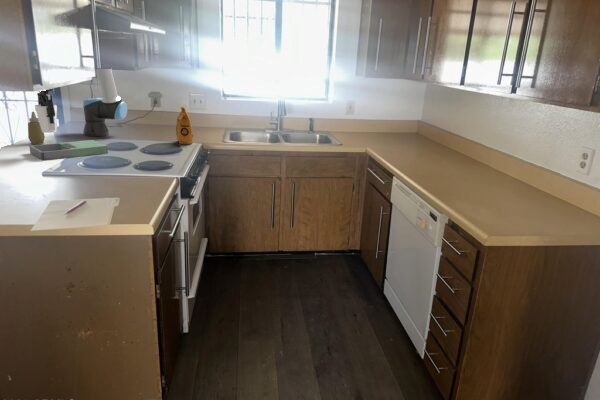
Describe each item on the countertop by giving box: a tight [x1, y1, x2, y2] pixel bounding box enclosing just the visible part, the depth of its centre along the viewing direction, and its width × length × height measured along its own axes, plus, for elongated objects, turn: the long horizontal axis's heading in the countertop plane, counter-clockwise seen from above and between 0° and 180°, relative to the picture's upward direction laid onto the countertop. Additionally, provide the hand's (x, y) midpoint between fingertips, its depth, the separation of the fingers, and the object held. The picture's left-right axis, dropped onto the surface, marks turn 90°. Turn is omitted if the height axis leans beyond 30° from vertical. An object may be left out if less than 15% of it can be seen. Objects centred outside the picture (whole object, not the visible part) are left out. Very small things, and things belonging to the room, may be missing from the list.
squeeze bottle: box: [27, 111, 46, 145], centre depth 241 cm, size 8×8×18 cm
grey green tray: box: [28, 139, 109, 161], centre depth 226 cm, size 32×19×4 cm, turn 136°
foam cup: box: [34, 104, 58, 134], centre depth 214 cm, size 10×9×13 cm
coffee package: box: [175, 106, 194, 145], centre depth 265 cm, size 10×12×22 cm
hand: (48, 128), depth 216 cm, fingers closed on foam cup, 9 cm apart
